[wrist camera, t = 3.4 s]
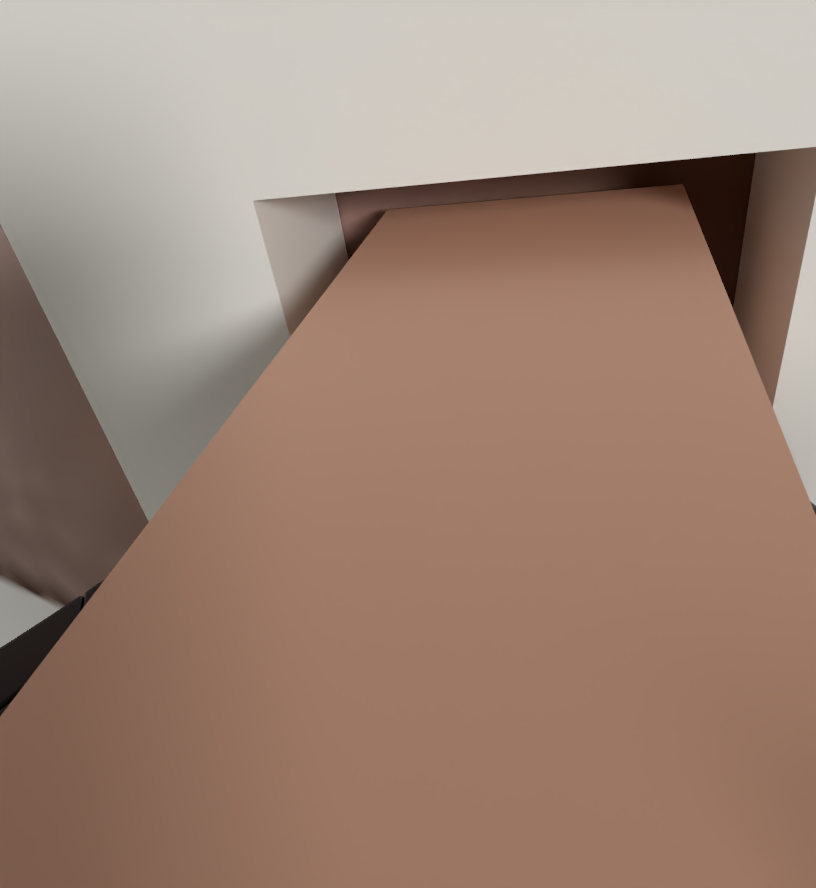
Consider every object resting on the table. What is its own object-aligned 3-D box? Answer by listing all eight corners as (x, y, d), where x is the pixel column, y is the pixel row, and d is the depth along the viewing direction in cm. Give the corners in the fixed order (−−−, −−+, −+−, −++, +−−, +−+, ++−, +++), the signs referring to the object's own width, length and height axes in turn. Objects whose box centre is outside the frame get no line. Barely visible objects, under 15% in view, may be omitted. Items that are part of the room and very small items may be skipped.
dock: (1338, -467, 6) (1851, -750, 3) (891, 616, 14) (951, 751, 12) (7, -120, 10) (-182, -141, 7) (271, 576, 18) (223, 671, 15)
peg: (683, 183, 10) (1092, 1204, 2) (660, 435, 12) (789, 1307, 4) (387, 209, 11) (-138, 898, 3) (423, 434, 13) (191, 1121, 6)
